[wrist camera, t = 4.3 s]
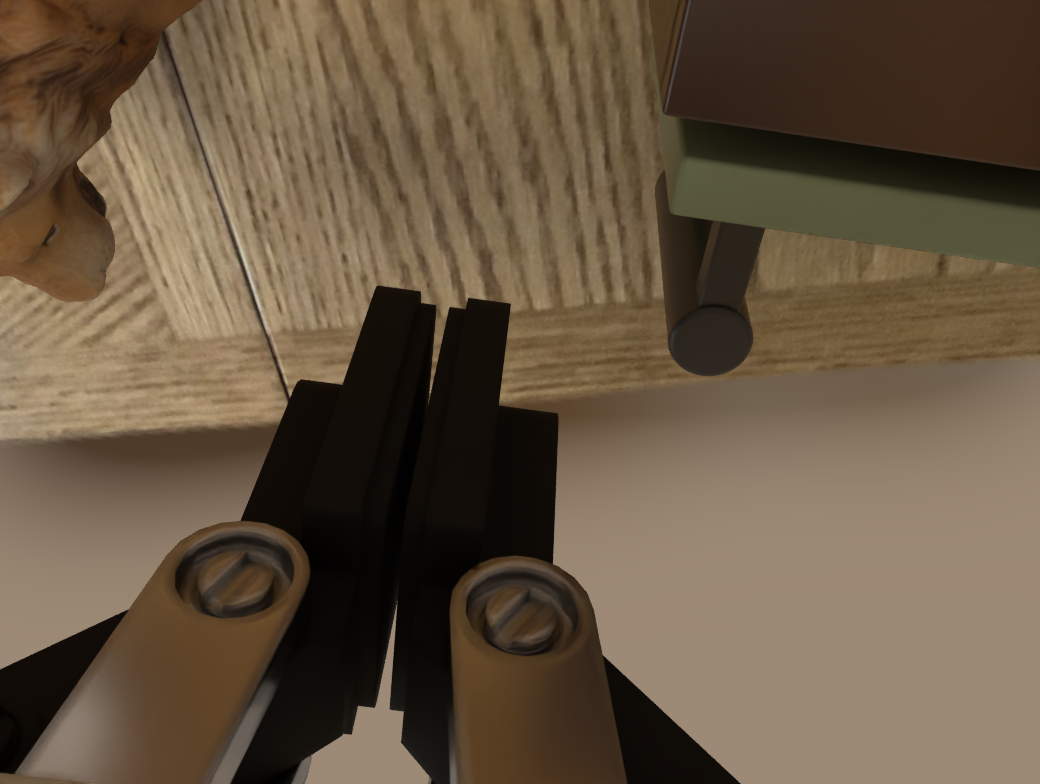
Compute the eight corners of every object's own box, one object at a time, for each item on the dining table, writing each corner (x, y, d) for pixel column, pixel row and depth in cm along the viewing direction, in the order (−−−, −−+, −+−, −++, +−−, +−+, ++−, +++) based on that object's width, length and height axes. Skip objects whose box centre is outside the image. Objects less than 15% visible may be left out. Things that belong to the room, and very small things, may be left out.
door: (1023, 52, 18) (1216, 236, 12) (948, 227, 20) (1083, 452, 14) (658, -2, 18) (682, 157, 12) (622, 179, 20) (627, 387, 14)
